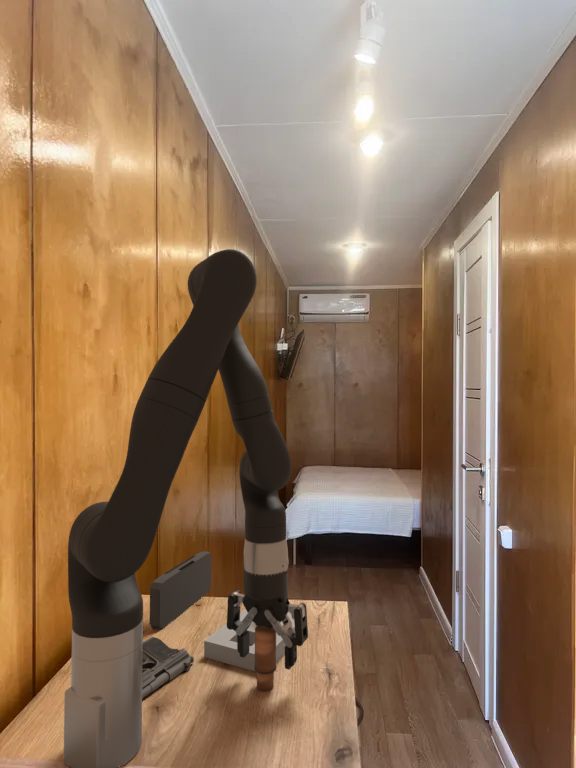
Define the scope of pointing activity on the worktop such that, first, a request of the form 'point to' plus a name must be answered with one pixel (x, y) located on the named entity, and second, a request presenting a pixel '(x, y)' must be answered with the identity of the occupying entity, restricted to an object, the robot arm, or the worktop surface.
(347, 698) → the worktop surface
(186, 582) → the handheld gaming console
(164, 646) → the handgun
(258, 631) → the cherry peg
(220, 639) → the jig board
